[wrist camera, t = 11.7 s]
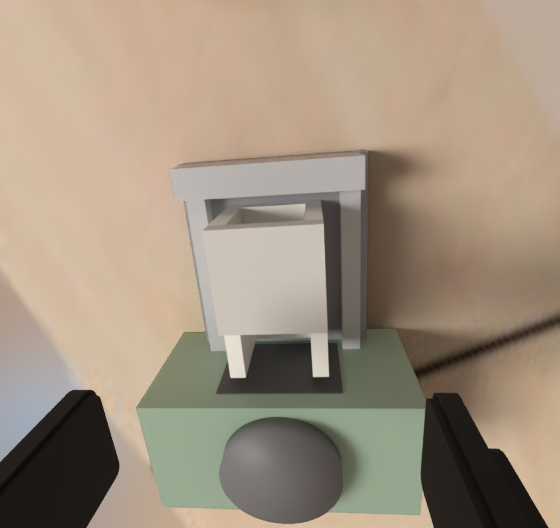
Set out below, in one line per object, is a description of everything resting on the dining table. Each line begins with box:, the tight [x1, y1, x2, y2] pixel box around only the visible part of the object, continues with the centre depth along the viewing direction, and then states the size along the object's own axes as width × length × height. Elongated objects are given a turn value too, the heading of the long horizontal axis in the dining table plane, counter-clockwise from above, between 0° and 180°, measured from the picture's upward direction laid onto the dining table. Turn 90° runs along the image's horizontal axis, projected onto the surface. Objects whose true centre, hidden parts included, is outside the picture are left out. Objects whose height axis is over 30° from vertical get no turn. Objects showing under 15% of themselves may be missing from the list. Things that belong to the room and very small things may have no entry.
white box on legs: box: [202, 200, 329, 378], centre depth 18 cm, size 8×5×5 cm, turn 4°
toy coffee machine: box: [136, 150, 426, 524], centre depth 19 cm, size 18×14×8 cm
